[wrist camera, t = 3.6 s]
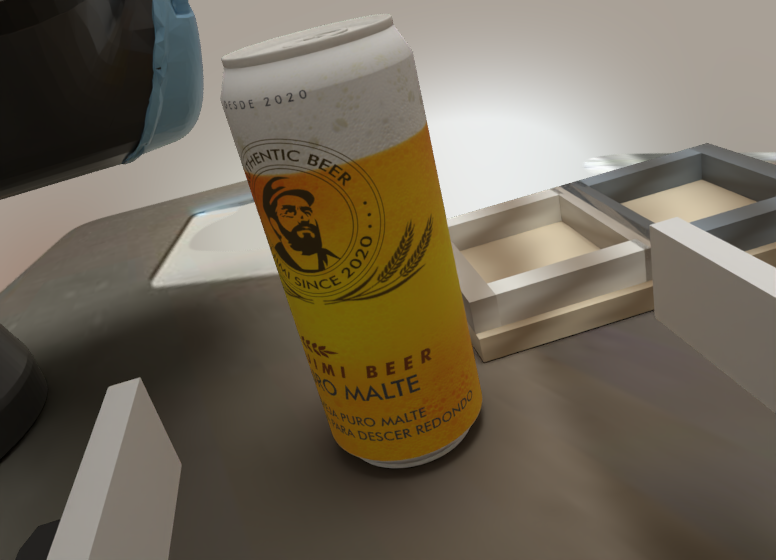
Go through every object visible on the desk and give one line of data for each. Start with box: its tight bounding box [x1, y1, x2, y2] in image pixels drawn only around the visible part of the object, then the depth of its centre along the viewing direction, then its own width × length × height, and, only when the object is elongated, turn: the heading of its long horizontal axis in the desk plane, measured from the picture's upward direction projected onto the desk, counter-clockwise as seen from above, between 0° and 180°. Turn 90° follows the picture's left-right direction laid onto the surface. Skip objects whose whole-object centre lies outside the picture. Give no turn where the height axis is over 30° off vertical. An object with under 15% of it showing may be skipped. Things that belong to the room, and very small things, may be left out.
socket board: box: [447, 143, 776, 362], centre depth 34 cm, size 18×11×3 cm, turn 101°
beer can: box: [221, 14, 482, 468], centre depth 23 cm, size 6×6×15 cm
